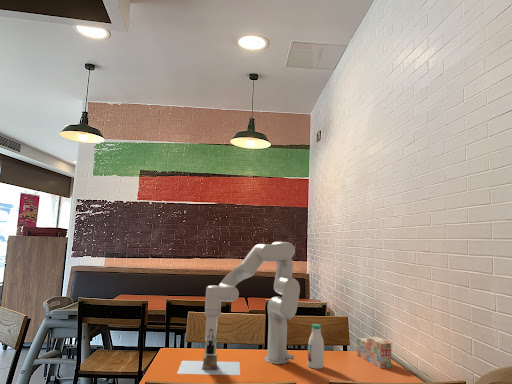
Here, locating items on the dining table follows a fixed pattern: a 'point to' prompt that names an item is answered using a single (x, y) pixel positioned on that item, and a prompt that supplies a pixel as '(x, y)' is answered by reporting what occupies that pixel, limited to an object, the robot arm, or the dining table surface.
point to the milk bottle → (316, 348)
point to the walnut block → (210, 361)
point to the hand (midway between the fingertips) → (210, 351)
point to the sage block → (207, 344)
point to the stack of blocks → (375, 351)
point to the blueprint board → (197, 368)
